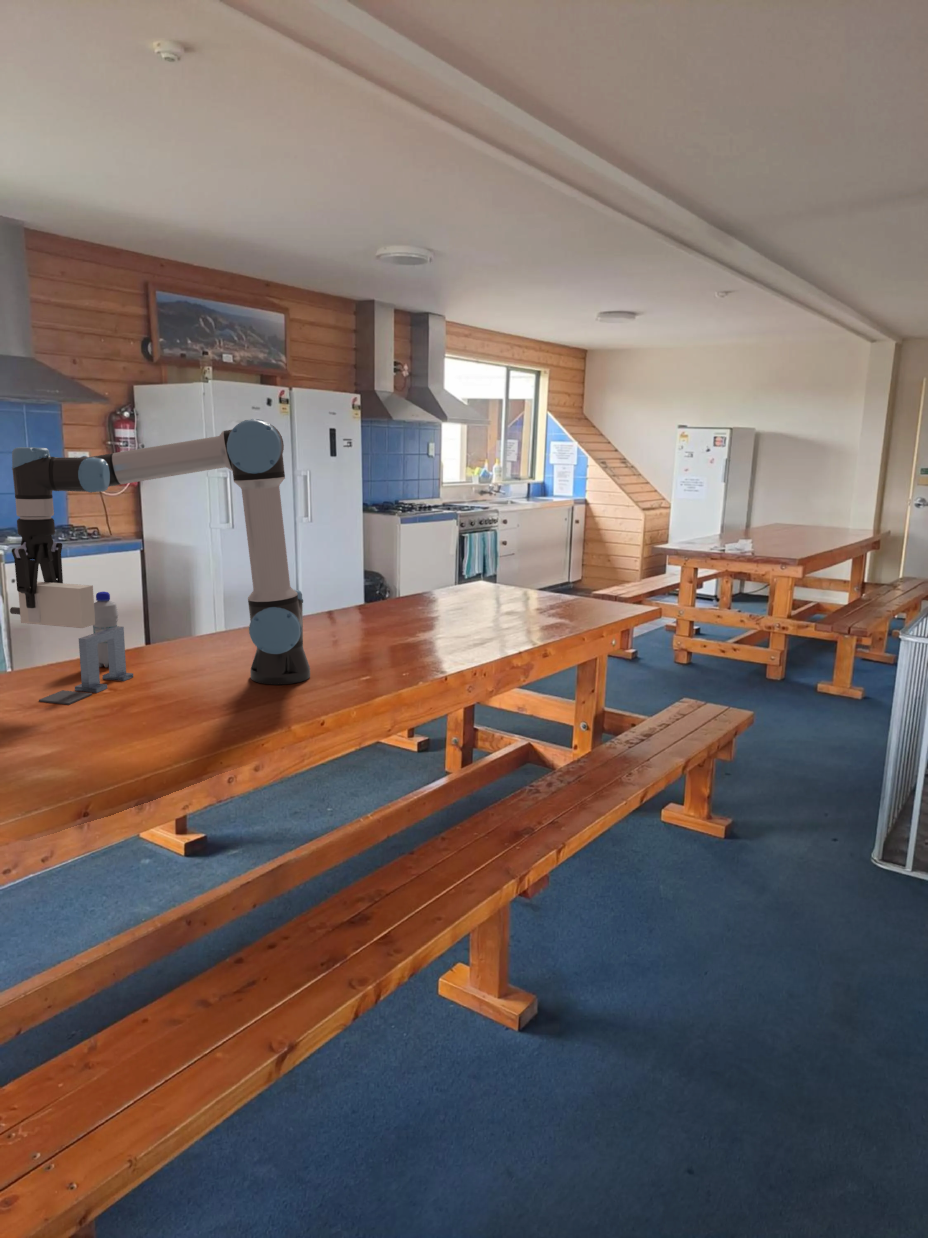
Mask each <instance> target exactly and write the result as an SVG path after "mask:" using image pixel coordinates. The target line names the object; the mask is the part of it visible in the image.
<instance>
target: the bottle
mask: <svg viewBox="0 0 928 1238" xmlns="http://www.w3.org/2000/svg"><path fill="white" fill-rule="evenodd" d="M95 600H96V601H94V612H95V625H92V632H93V633H92V634H94V633H97V632H100V631H103V630H106V629H109V628H112V627H116V626H118V621H119V612H118V608H117V603H116V602H113V601H111V594H110V592H108V591H98V592H97V593H96V595H95ZM97 645H98V661H99V668H102V667H103V666H104V667H105V668H109V660H108V644H107V641H104V642H101V643H98V644H97Z"/></svg>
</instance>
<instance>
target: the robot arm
mask: <svg viewBox="0 0 928 1238" xmlns="http://www.w3.org/2000/svg"><path fill="white" fill-rule="evenodd" d="M284 446H285V445H284V439H283V436H282V435H281V433H280V431H279V430H278V429H277V428H276V427H275V426H274V425H272V424H271V423H270V422H267V421H266V420H262V419H257V418H256V419H254V418H250V419H245V420H243V421H240V422H239V423H237V424H236V425H235V426H234V427H233V428H232V429H227V430H222V431H221V433H220V434H219V435H216V436H210V437H205V438H199V439H193V440H192V439H191V440H186V441H179V442H172V443H167V444H161V445H155V446H150V447H143V448H136V449H131V450H124V451H119V452H113V453H106V454H99V455H92V456H83V457H82V456H81V457H62V456H61V457H57V456H51V453H50V450H49V449H48V448H47V447H31V446H30V447H25V446H24V447H23V446H22V447H20V446H18V447H15V448H13V449H12V452H11V458H12V460H11V461H12V463H11V470H12V478H13V488H14V498H15V510H16V516H17V517H19V518H17V519H16V528H17V534H18V536H20V537H21V541H20V546H18V547H17V548H15V547H13V548H11V554H12V556H13V559H14V572H15V581H16V591H17V592H18V593H19V592H21V593H25V596H26V606H27V608H28V618H29V622H41V610H40V597H39V593H36V589H37V582H38V576H39V566H40V569H41V575H42V579H43V582H51V583H64V577H63V576H64V575H63V563H62V550H63V543H61V542H55V541H54V539H53V537H52V536H54V535H55V533H56V527H55V525H56V524H55V519H54V518H53V516H54V515H55V511H54V509H55V508H54V498H53V492H81V493H82V492H84V493H85V492H86V493H87V492H88V493H99V492H101V493H102V492H105V491H107V490H108V488H110V487H114V486H120V485H125V484H126V485H127V484H132V483H137V482H138V483H139V482H143V481H144V482H145V481H149V480H150V481H151V480H156V479H161V478H169V477H175V476H181V475H187V474H193V473H198V472H207V471H211V470H218V469H224V468H227V469H228V470H230V471H231V472H232V479H233V483H235V484H236V485H237V486H238V487H239V488H240V489H241V495H242V496H241V497H242V505H243V512H244V513H243V514H244V521H245V522H244V523H245V530H246V537H247V539H246V540H247V546H248V547H247V548H248V554H249V556H248V557H249V564H250V572H251V580H252V589H253V590H252V592H251V593H250V594H249V596H248V597H247V603H248V610H249V611H248V612H249V618H250V619H249V620H250V622H249V627H248V633H249V637H250V639H251V641H252V643H253V645H255V647H256V651H255V654H254V657H253V661H252V664H251V666H250V679H251V680H252V682H255V683H259V684H264V685H290V684H297V683H298V684H299V683H301V682H305V681H307V680H309V678H311V665H310V663H309V661H308V657H307V655H306V651H305V650H304V631H303V630H304V629H303V627H304V626H303V625H304V624H303V623H304V621H303V620H304V619H303V617H304V615H303V614H304V613H303V607H304V605H303V603H304V599H303V593H302V591H301V590H298V589H293V588H292V587H291V581H290V571H289V564H288V554H287V553H288V552H287V544H286V534H285V527H284V517H283V508H282V507H283V505H282V499H281V487H280V485H281V484H282V482H283V481H284V480H285V479H286V474H285V464H284V463H285V462H284V456H283V454H284ZM30 587H31V588H30Z"/></svg>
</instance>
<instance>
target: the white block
mask: <svg viewBox="0 0 928 1238" xmlns="http://www.w3.org/2000/svg"><path fill="white" fill-rule="evenodd" d="M30 588H31V587H30ZM36 593H39V597H40V610H41V622H29V618H28V608H27V606H26V596H25V593H21V592H18V603H19V607H15V606H11V607H10V609H9V612H10V614H12V615H20V617H19V618H20V623H21V624H28V625H40V626H51V627H52V626H53V627H63V628H65V627H66V628H76V629H85V628H88V627H91V626H93V625H95V612H94V603H95V600H94V597H95V596H94V586H93V585H90V584H74V583H65V582H63V583H51V582H44V581H37V589H36Z"/></svg>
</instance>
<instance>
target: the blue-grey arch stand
mask: <svg viewBox="0 0 928 1238" xmlns="http://www.w3.org/2000/svg"><path fill="white" fill-rule="evenodd" d="M104 641H107V644H108V660H109V664H108V672H107V673H105V674H102V680H107V681H117V682H119V681H120V682H126V681H128V680H130V679H132V678H134V673H132V672H127V665H126V664H127V663H126V647H125V646H126V644H125V628H124V626H119V625H117V626H116V627H112V628H109V629H106V630H103V631H100V632H97V633H94V634H93V633H91V634H88V635H84V636H81V637H79V638H78V649H79V652H78V653H79V662H80V664H79V665H80V675H81V676H80V678H81V680H80V681H81V683H80V684H77V685H75V686H74V691H75V692H85V693H95V694H98V693H99V692H102V691H104V690H107V689H108V684H107V683H101V681H100V680H101V679H100V667H99V661H98V645H97V644H98V643H101V642H104Z"/></svg>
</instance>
